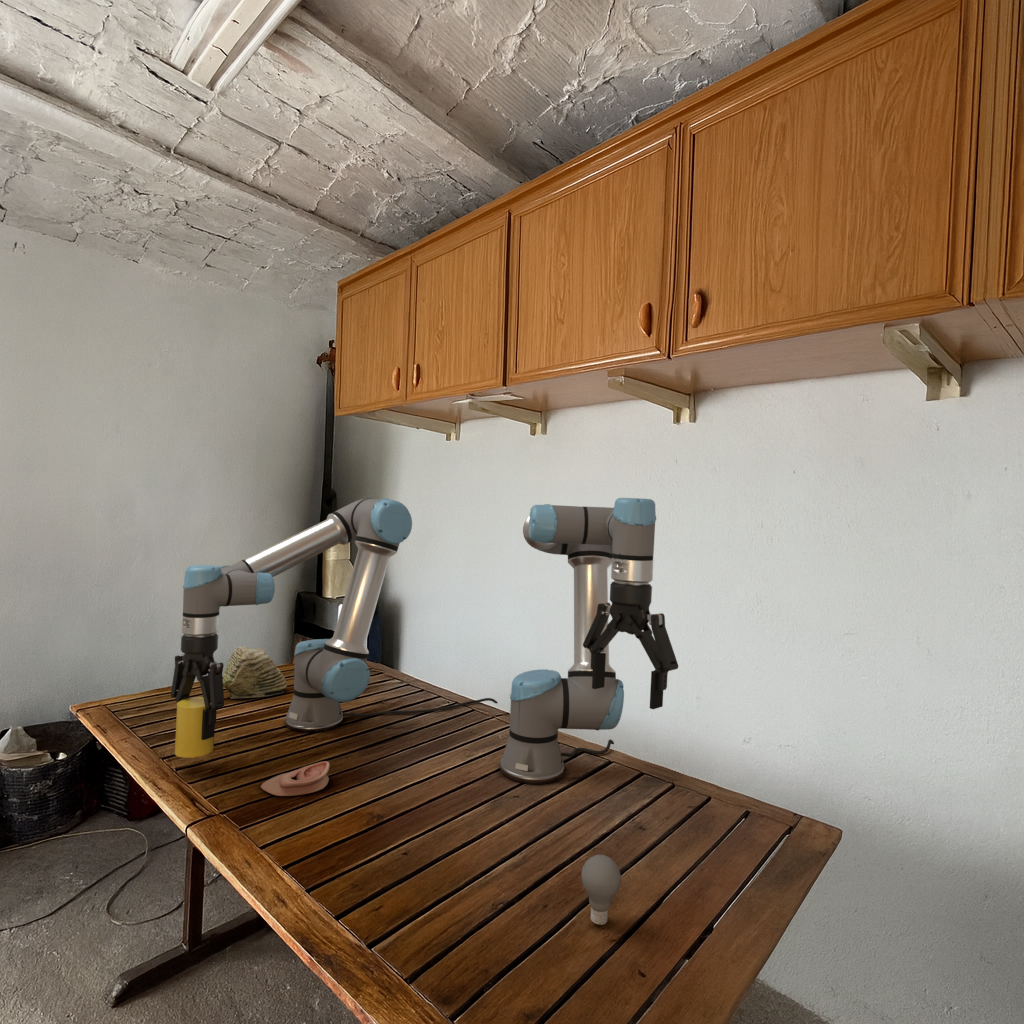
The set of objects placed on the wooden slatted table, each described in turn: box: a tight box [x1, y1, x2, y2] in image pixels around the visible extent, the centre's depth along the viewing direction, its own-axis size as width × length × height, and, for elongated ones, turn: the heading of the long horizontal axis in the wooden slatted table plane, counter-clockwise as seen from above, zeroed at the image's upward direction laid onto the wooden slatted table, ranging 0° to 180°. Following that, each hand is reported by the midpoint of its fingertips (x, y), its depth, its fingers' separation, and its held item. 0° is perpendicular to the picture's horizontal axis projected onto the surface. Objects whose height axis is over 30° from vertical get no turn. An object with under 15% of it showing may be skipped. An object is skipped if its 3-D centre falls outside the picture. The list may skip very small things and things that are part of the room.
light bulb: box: [580, 854, 622, 926], centre depth 97 cm, size 6×6×10 cm
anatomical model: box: [260, 760, 331, 797], centre depth 138 cm, size 13×4×12 cm
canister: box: [174, 696, 215, 759], centre depth 144 cm, size 8×8×11 cm
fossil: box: [222, 646, 288, 699], centre depth 198 cm, size 9×18×15 cm, turn 132°
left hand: (195, 733), depth 144 cm, fingers closed on canister, 8 cm apart
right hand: (625, 697), depth 116 cm, fingers open, 13 cm apart
